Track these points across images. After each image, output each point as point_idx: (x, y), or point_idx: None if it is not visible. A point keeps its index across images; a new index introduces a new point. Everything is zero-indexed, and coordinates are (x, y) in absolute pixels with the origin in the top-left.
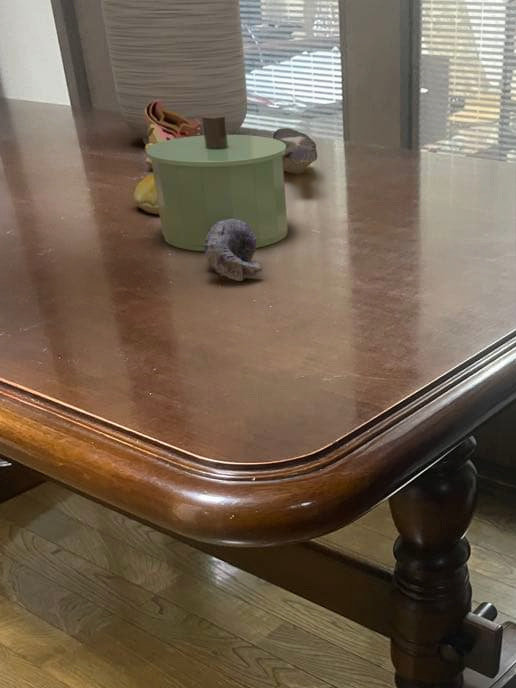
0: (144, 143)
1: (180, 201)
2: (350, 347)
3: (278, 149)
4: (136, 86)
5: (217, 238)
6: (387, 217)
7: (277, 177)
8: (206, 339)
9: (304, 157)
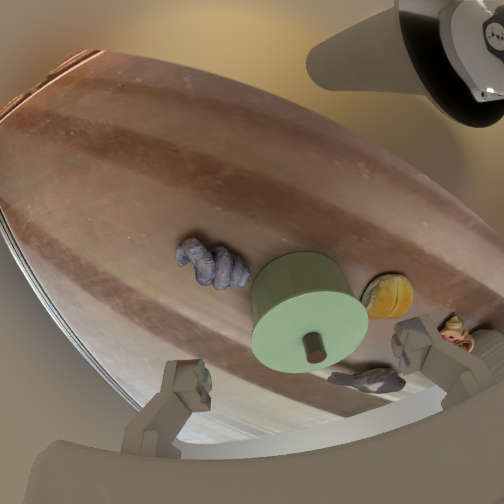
0: (484, 329)
1: (290, 276)
2: (56, 237)
3: (266, 362)
4: (493, 350)
5: (192, 255)
6: (253, 369)
7: None
8: (96, 177)
9: (334, 379)
